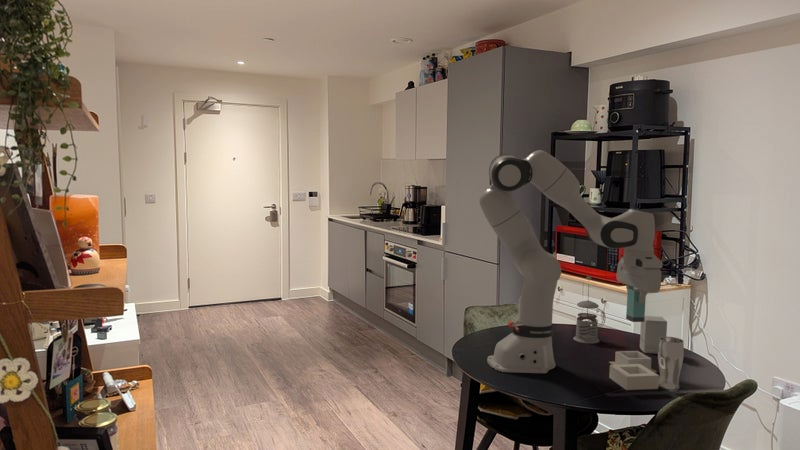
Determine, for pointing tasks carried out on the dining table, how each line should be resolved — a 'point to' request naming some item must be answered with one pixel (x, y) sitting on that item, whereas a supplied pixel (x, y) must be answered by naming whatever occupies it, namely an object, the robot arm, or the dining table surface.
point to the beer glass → (670, 362)
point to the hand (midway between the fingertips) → (636, 300)
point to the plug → (635, 307)
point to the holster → (632, 359)
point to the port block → (634, 377)
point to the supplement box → (652, 333)
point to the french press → (587, 322)
